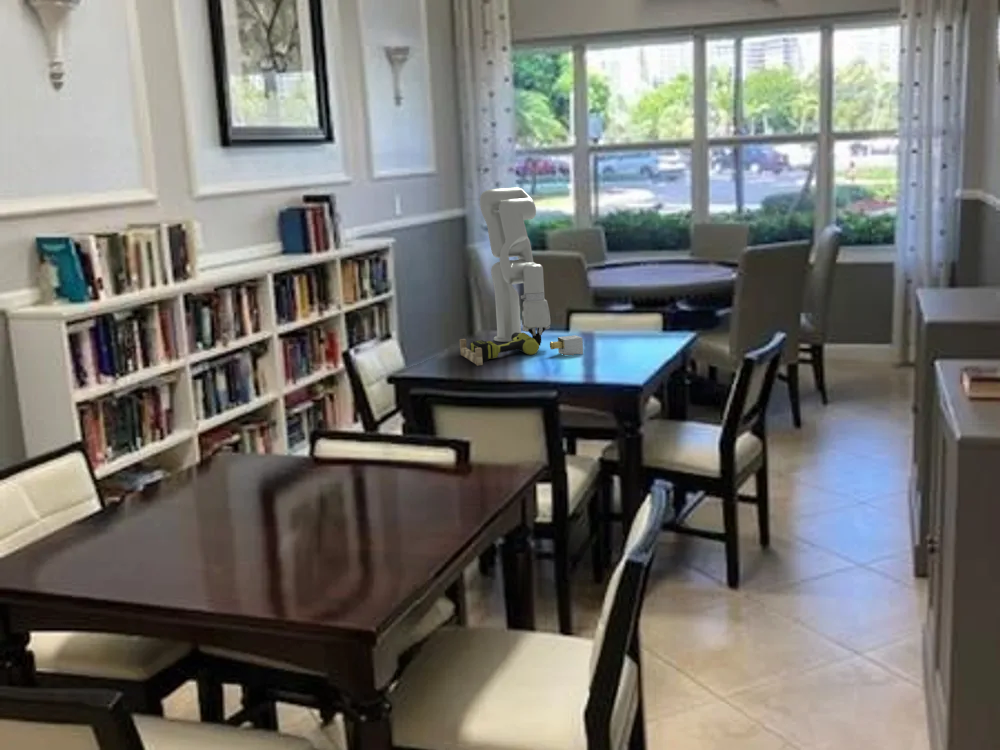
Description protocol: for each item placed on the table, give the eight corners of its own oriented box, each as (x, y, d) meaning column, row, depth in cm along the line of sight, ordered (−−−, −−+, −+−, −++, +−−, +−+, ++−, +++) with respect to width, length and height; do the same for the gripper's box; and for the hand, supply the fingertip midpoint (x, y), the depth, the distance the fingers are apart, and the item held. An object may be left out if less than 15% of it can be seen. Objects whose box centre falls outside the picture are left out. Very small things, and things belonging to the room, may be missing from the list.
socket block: (558, 353, 385) (557, 337, 384) (576, 351, 387) (575, 335, 386) (565, 356, 379) (564, 339, 378) (583, 354, 381) (582, 337, 379)
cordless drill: (461, 350, 401) (523, 344, 408) (477, 363, 378) (543, 356, 384) (460, 332, 400) (522, 326, 406) (476, 344, 376) (542, 337, 383)
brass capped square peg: (550, 348, 382) (549, 341, 381) (575, 346, 384) (574, 338, 384) (552, 350, 379) (552, 342, 379) (577, 347, 382) (577, 339, 381)
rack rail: (460, 355, 394) (459, 339, 393) (465, 354, 395) (464, 338, 393) (477, 365, 372) (476, 348, 370) (482, 364, 372) (481, 348, 371)
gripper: (518, 300, 387) (521, 349, 391) (556, 296, 392) (559, 344, 395) (512, 298, 394) (515, 346, 398) (549, 294, 399) (552, 341, 402)
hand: (537, 345), depth 397 cm, fingers closed
